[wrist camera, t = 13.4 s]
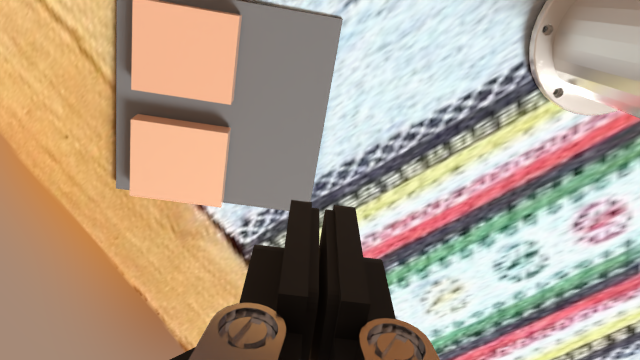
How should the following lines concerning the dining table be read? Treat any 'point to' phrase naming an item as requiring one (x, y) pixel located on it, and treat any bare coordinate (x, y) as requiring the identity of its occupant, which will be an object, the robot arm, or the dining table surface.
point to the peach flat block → (178, 160)
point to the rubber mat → (249, 101)
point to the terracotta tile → (184, 51)
